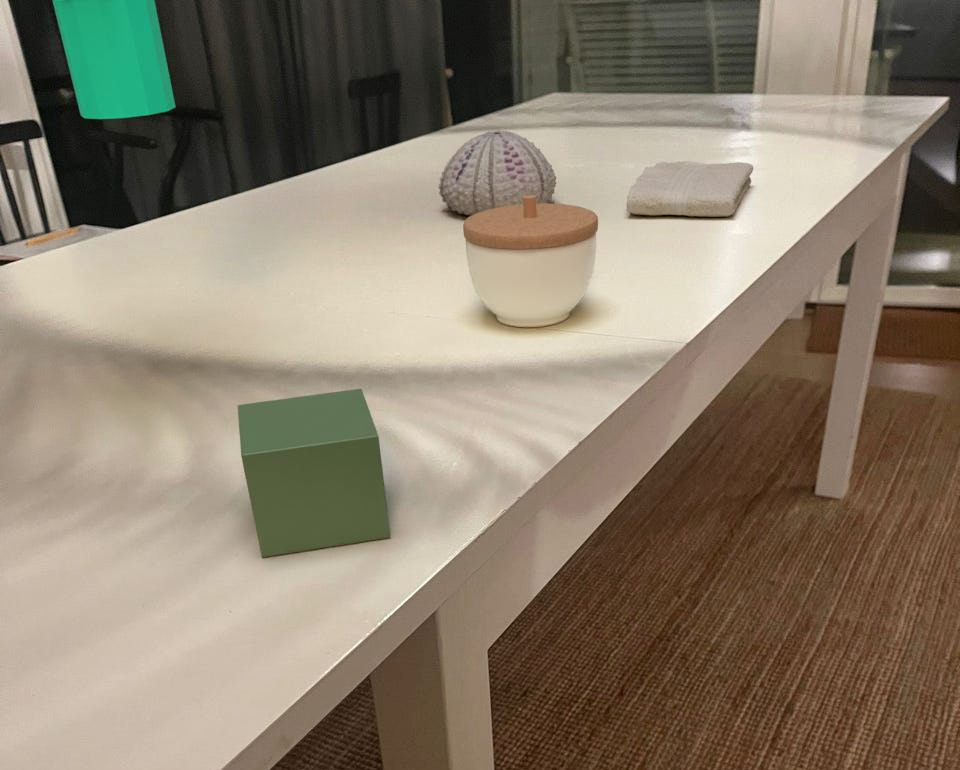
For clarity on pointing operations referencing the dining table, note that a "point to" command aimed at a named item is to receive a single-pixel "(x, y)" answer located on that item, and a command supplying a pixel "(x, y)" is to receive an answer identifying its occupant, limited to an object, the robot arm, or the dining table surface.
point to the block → (313, 472)
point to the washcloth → (689, 189)
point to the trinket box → (531, 260)
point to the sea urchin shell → (495, 174)
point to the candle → (115, 57)
